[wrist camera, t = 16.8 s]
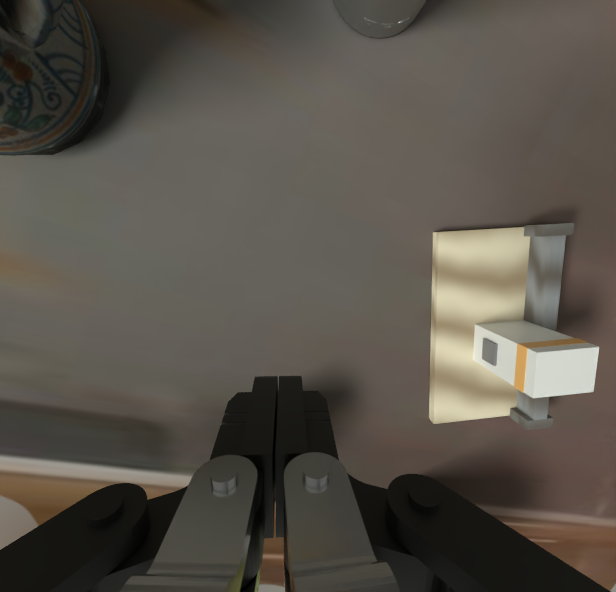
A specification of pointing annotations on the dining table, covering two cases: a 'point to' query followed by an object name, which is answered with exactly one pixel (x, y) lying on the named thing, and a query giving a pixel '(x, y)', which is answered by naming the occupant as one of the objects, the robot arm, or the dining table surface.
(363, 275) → the dining table surface
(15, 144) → the beer stein
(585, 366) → the module
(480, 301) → the mount board
